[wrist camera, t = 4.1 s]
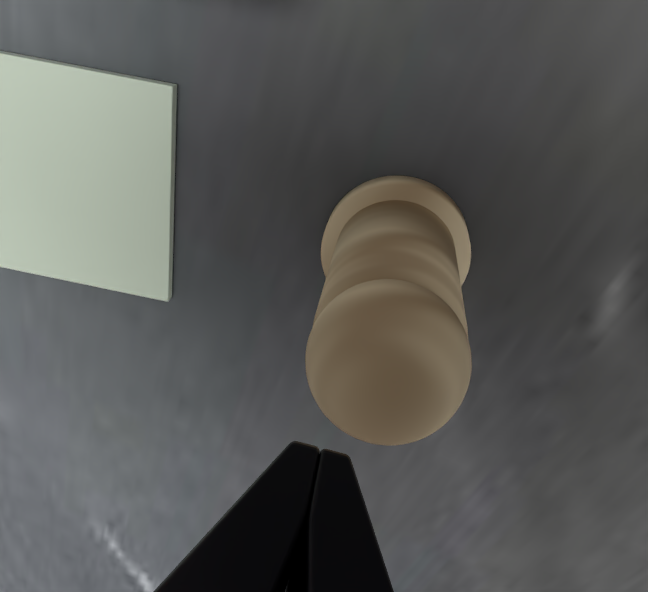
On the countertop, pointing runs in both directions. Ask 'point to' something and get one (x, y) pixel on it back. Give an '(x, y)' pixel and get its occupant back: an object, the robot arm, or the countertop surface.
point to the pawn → (392, 312)
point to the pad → (87, 175)
